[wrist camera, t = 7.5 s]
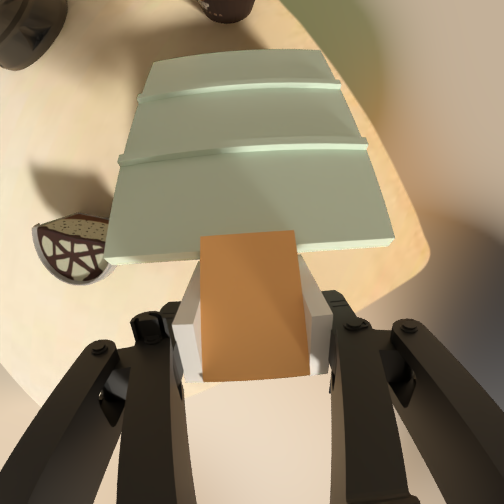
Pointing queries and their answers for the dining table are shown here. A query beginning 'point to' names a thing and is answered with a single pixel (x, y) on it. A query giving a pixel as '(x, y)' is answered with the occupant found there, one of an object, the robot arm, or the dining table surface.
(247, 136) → the lid
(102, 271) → the food container
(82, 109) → the dining table surface
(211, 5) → the coffee mug
